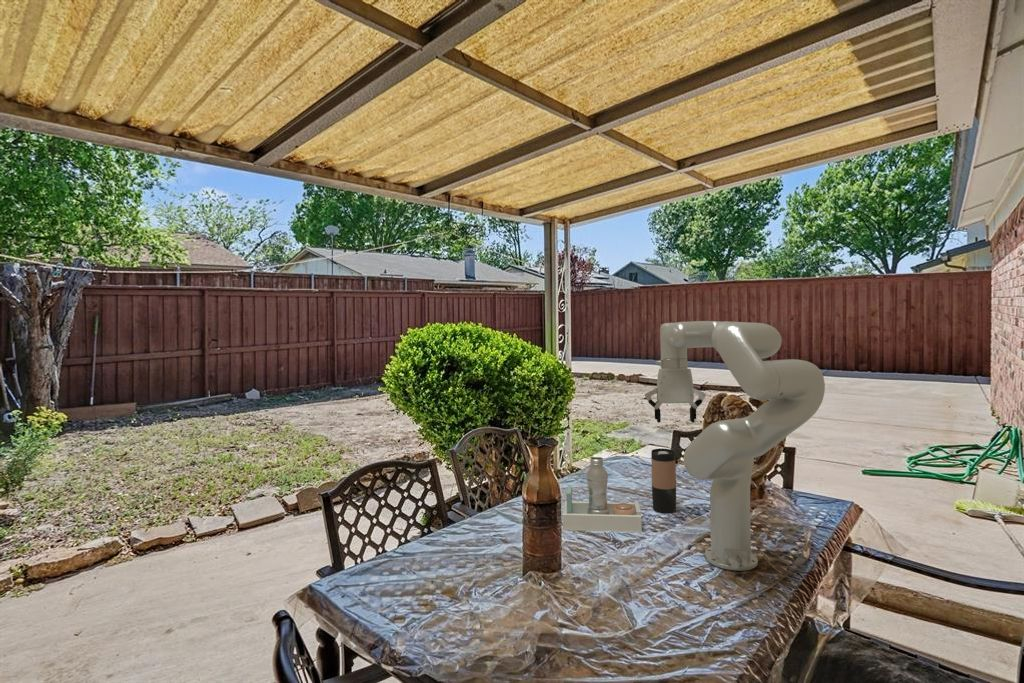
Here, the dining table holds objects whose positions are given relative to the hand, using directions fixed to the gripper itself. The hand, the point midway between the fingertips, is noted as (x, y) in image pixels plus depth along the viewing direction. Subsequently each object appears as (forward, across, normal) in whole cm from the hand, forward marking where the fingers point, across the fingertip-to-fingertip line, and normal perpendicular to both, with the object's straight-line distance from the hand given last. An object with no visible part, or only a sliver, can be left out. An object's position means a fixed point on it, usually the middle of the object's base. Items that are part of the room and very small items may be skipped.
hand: (675, 421), depth 155 cm
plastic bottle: (+32, -23, +1) cm, 39 cm away
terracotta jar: (+31, -16, +1) cm, 35 cm away
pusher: (+31, -32, +1) cm, 45 cm away
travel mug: (+32, -2, +14) cm, 35 cm away
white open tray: (+32, -22, +1) cm, 39 cm away
